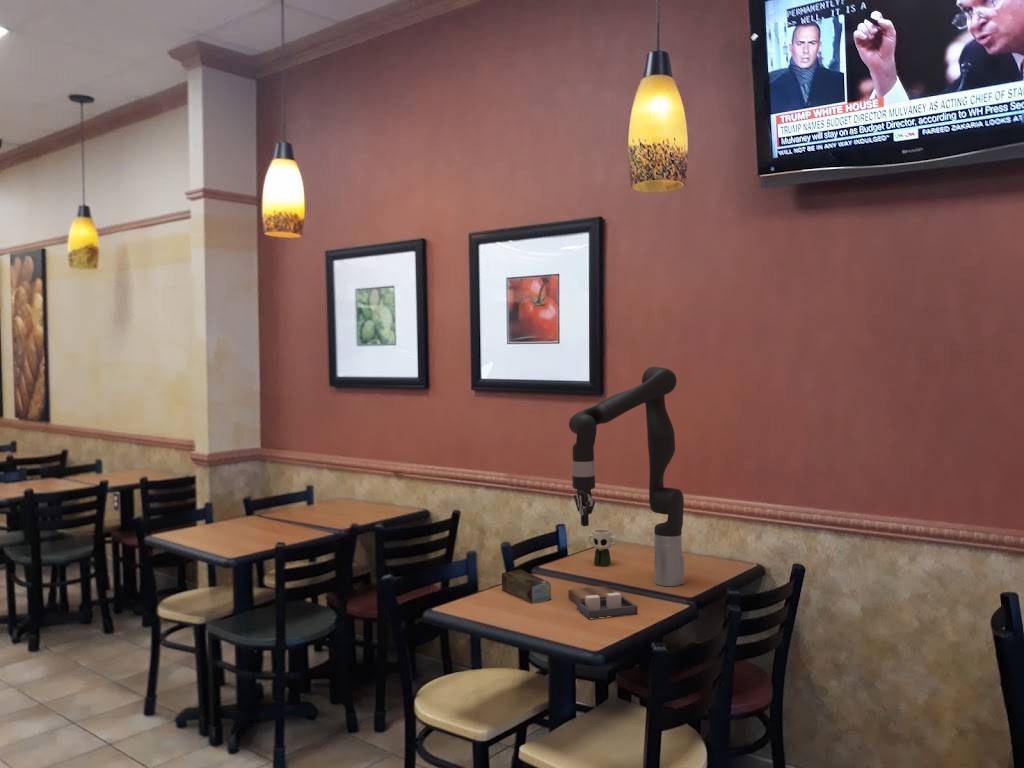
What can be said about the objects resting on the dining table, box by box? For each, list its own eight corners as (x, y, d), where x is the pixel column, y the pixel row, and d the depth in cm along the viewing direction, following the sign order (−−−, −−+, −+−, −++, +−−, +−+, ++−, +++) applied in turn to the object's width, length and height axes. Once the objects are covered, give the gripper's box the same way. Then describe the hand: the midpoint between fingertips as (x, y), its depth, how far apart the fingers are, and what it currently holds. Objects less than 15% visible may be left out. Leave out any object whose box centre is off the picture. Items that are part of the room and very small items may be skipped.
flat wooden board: (605, 594, 271) (605, 585, 271) (618, 604, 261) (618, 595, 261) (568, 598, 268) (568, 589, 268) (580, 608, 257) (580, 599, 257)
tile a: (617, 592, 259) (621, 594, 256) (618, 604, 259) (621, 607, 256) (606, 593, 257) (609, 595, 255) (606, 606, 258) (609, 608, 255)
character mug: (585, 565, 308) (585, 531, 308) (591, 561, 315) (591, 527, 314) (613, 568, 304) (612, 533, 303) (619, 563, 310) (618, 529, 310)
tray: (623, 604, 261) (623, 596, 261) (637, 614, 251) (637, 606, 251) (576, 609, 256) (576, 601, 256) (588, 619, 247) (588, 611, 247)
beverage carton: (531, 604, 263) (531, 584, 263) (500, 590, 279) (500, 571, 279) (552, 600, 267) (551, 580, 267) (520, 586, 283) (519, 567, 283)
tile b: (597, 594, 256) (600, 597, 254) (597, 607, 256) (600, 609, 254) (585, 595, 255) (587, 598, 253) (585, 608, 255) (588, 611, 253)
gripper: (602, 476, 265) (603, 529, 266) (586, 470, 278) (587, 520, 279) (580, 478, 263) (582, 531, 264) (565, 471, 276) (566, 522, 277)
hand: (584, 525), depth 271 cm, fingers closed
